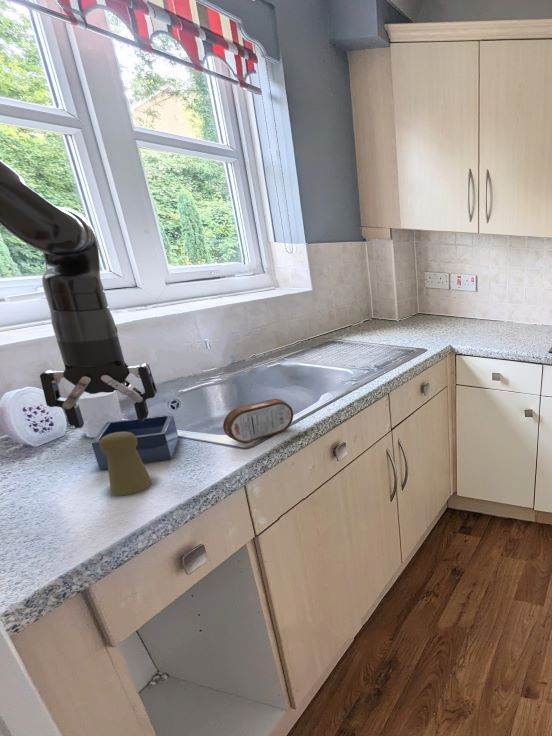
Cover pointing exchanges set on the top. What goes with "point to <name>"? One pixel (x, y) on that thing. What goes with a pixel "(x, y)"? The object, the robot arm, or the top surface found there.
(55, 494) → the top surface
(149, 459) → the holder
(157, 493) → the top surface
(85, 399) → the white cup
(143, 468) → the cork
